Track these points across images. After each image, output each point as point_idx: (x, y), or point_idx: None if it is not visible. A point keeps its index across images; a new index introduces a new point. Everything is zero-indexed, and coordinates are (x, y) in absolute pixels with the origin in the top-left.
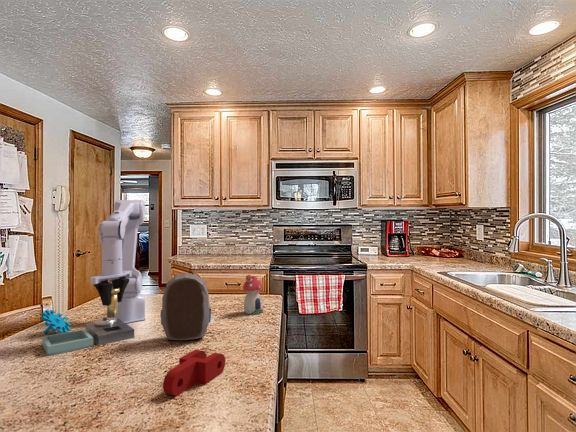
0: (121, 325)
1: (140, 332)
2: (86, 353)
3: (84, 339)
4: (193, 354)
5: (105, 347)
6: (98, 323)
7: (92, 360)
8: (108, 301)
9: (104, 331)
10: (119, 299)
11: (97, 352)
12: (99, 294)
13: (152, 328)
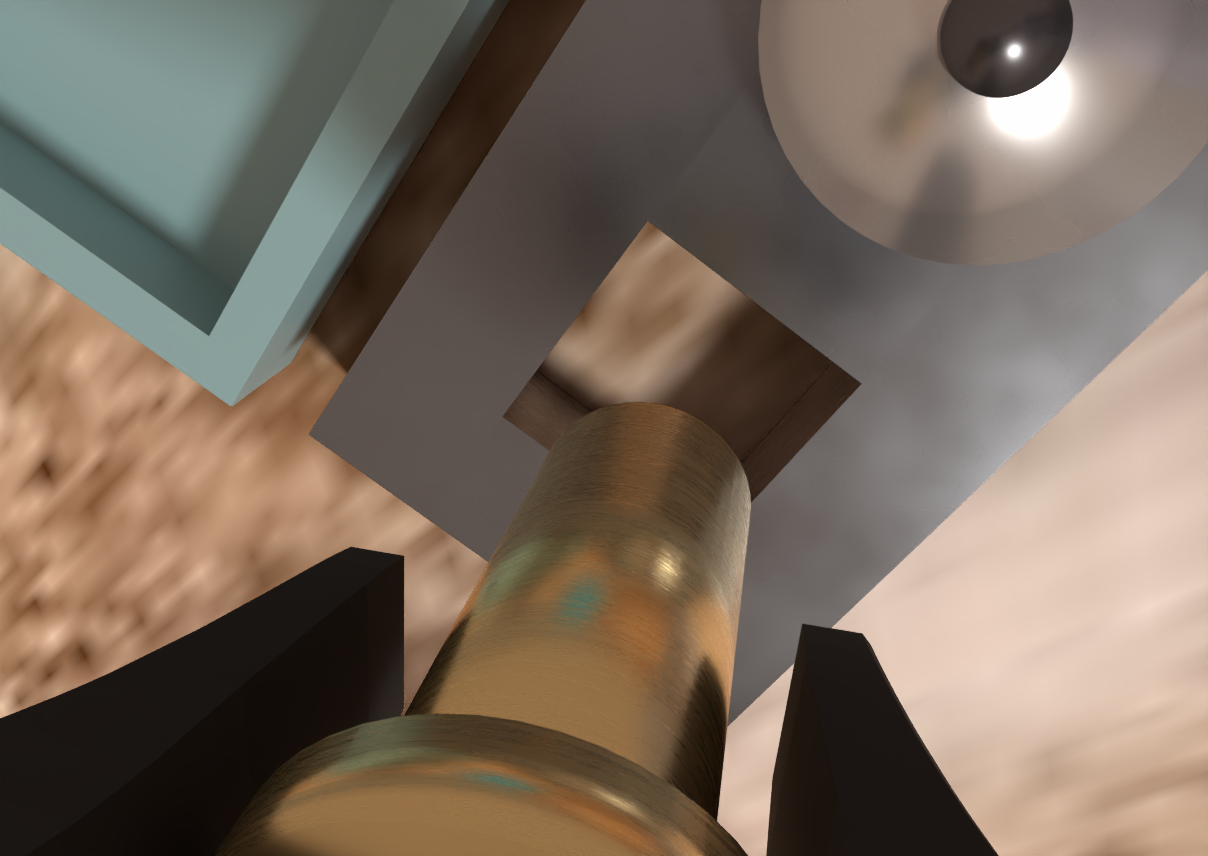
0: (891, 434)
1: (969, 624)
2: (105, 438)
3: (134, 332)
4: None
5: (324, 522)
6: (761, 31)
7: (13, 618)
8: None
9: (520, 367)
10: (769, 826)
11: (175, 533)
12: (80, 694)
13: (1195, 696)
